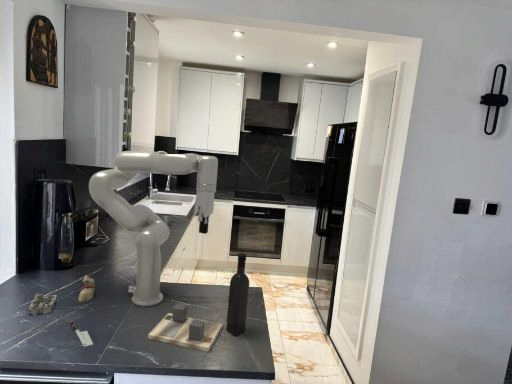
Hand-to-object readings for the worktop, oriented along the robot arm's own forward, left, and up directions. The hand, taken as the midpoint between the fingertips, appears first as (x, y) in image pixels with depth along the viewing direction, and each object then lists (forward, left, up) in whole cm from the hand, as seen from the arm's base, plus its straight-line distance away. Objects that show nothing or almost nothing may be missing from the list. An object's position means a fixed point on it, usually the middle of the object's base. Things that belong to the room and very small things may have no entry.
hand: (203, 232), depth 134 cm
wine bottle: (+19, -11, -32) cm, 39 cm away
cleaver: (-30, -30, -33) cm, 54 cm away
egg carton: (-54, -22, -33) cm, 67 cm away
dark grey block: (-2, -14, -30) cm, 33 cm away
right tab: (+8, -22, -30) cm, 38 cm away
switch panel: (+3, -18, -32) cm, 37 cm away
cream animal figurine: (-45, -10, -32) cm, 56 cm away
